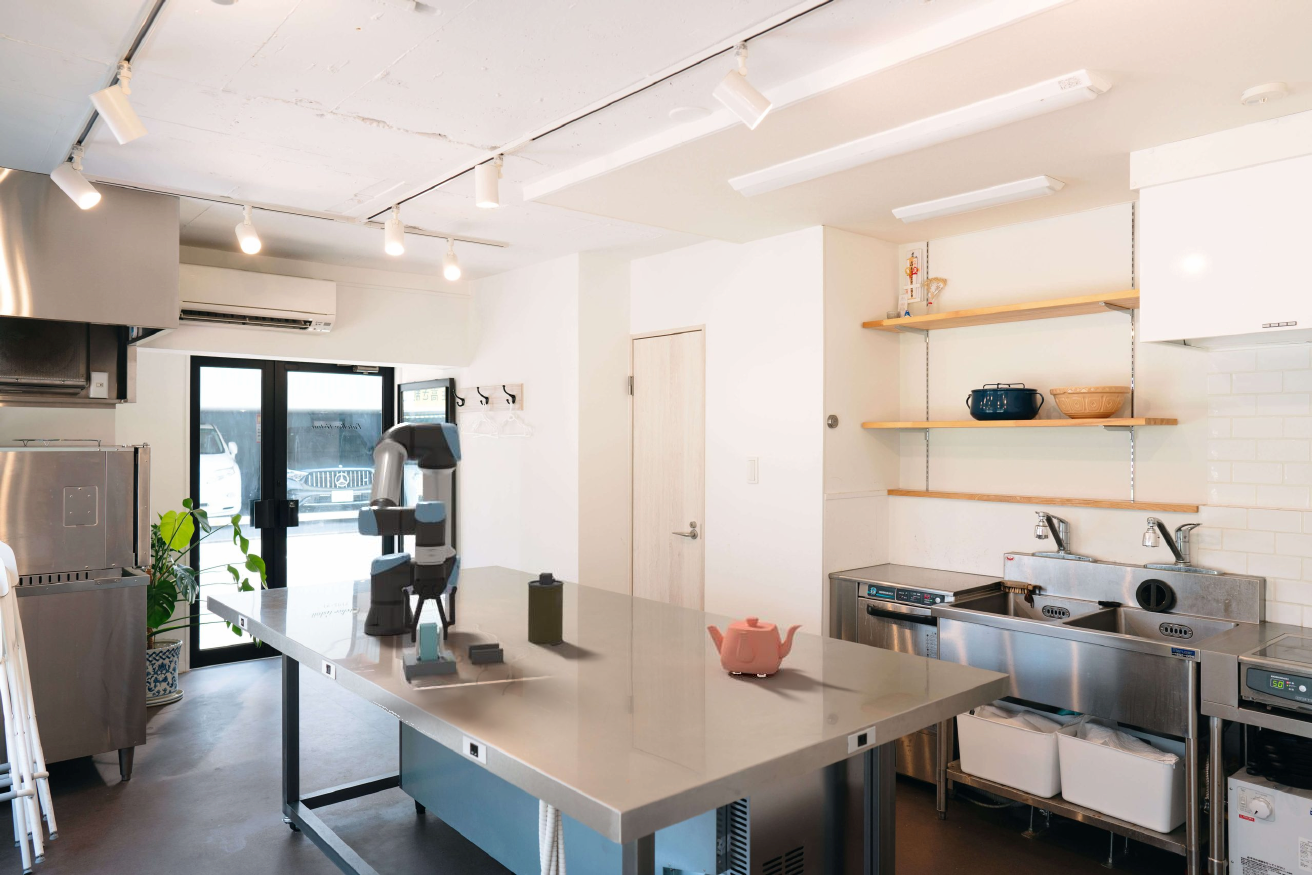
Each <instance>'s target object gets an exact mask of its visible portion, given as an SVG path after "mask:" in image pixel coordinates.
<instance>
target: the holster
mask: <svg viewBox="0 0 1312 875" xmlns="http://www.w3.org/2000/svg"><path fill="white" fill-rule="evenodd" d="M467 654H468V655H467V656H468V660H469V662H470V663H471V664H472V665H478V664H479V665H480V664H489V663H502V662H504V649H503V648H502V647H500V643H499V642H495V643H493V642H492V643H482V644H469V645H468V653H467Z"/></svg>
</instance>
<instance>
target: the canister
mask: <svg viewBox="0 0 1312 875" xmlns="http://www.w3.org/2000/svg"><path fill="white" fill-rule="evenodd" d="M538 578H539V579H537V580H530V581H528V582H527V585H528V588H527V590H528V591H527V593H528V595H527V596H528V597H527V598H528V600H527V602H528V603H527V606H528V609H527V611H528V613H527V619H528V620H527V641H528V642H529V643H532V644H536V645H550V646H557V645H559V644H563V643H564V639H563V638H564V637H563V631H564V630H563V628H564V627H563V626H564V625H563V624H564V623H563V622H564V621H563V620H564V610H563V609H564V608H563V607H564V584H565V583H564V581H562V580H559V579H556V578H555V577H554V576H553V572H541V573H540V574H539V576H538Z"/></svg>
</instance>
